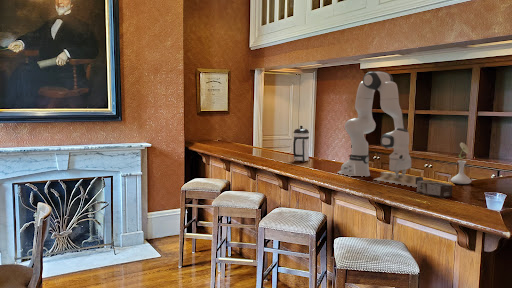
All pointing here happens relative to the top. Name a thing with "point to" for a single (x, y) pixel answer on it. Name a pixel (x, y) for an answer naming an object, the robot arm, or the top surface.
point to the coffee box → (434, 188)
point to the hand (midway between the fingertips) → (400, 176)
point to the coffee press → (301, 144)
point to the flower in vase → (462, 168)
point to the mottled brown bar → (402, 177)
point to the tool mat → (396, 182)
